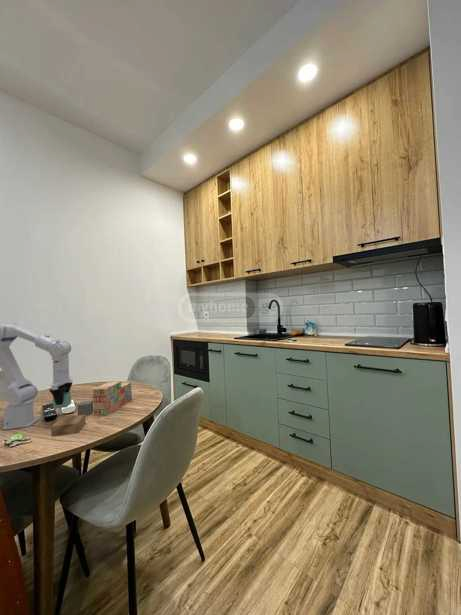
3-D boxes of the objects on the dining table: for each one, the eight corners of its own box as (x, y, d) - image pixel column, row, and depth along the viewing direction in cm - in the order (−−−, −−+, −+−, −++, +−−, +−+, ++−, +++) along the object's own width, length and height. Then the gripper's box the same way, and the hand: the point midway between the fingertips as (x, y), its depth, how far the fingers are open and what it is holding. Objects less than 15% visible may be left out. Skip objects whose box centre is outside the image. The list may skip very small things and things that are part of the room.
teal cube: (53, 408, 106) (52, 396, 106) (58, 404, 111) (57, 393, 111) (66, 407, 107) (66, 395, 107) (71, 403, 112) (70, 391, 112)
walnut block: (51, 437, 96) (51, 426, 96) (61, 427, 104) (61, 417, 105) (77, 433, 98) (77, 423, 98) (85, 424, 106) (85, 414, 107)
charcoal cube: (77, 416, 115) (77, 405, 115) (81, 412, 120) (81, 401, 120) (90, 415, 116) (89, 404, 116) (93, 411, 121) (93, 400, 121)
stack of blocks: (121, 400, 136) (120, 376, 136) (131, 400, 135) (131, 376, 135) (93, 415, 115) (92, 388, 115) (106, 416, 114) (105, 388, 114)
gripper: (64, 373, 103) (66, 406, 103) (77, 366, 117) (78, 396, 117) (45, 374, 102) (46, 409, 101) (60, 368, 116) (60, 398, 115)
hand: (62, 402), depth 109 cm, fingers closed on teal cube, 5 cm apart
